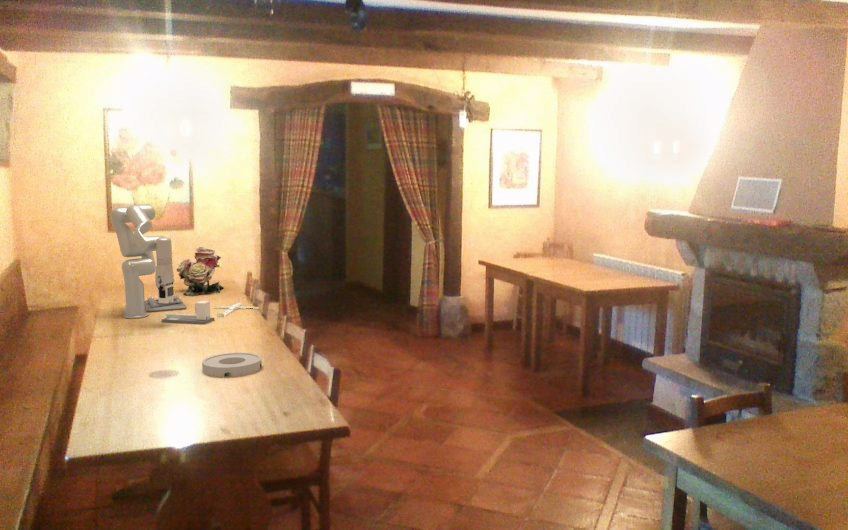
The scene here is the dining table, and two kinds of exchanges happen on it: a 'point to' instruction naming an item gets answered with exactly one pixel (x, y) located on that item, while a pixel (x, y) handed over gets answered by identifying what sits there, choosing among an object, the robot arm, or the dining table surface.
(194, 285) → the rose bouquet
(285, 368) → the dining table surface
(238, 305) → the articulated figure
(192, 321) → the rail board
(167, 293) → the cream rectangular block
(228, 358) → the ashtray
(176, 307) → the grey tray
